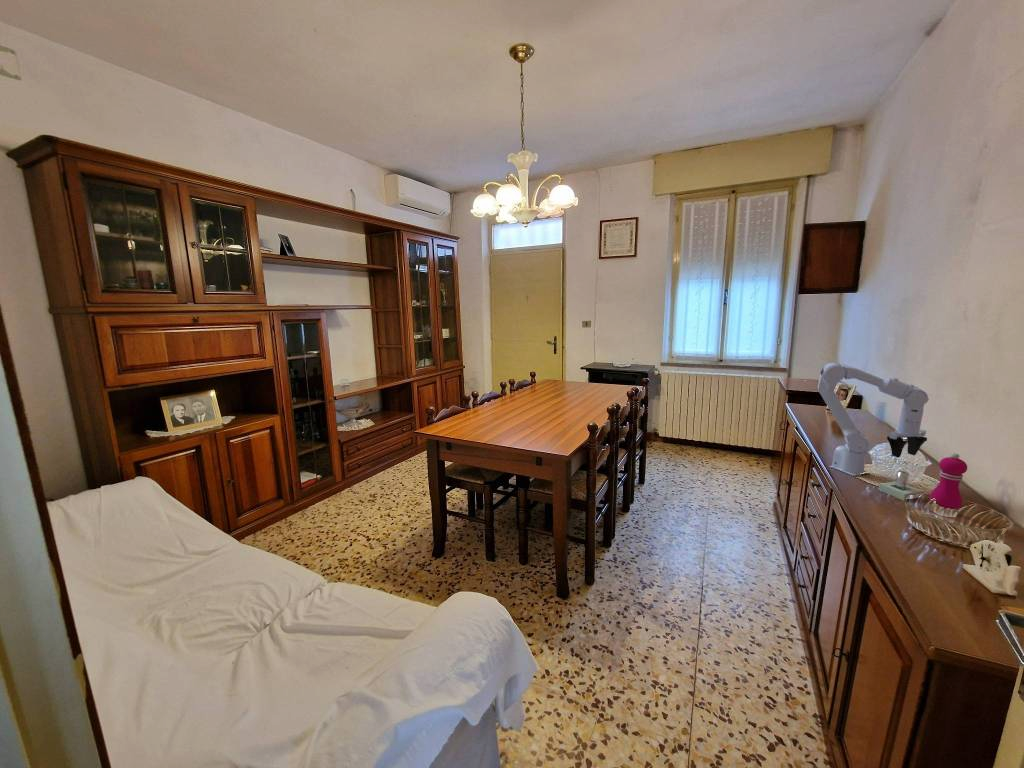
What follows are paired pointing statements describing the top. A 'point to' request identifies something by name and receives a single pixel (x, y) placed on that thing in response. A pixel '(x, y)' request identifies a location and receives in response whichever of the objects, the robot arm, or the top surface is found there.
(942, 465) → the pepper mill
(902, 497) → the socket block
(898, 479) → the peg
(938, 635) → the top surface
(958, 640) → the top surface
